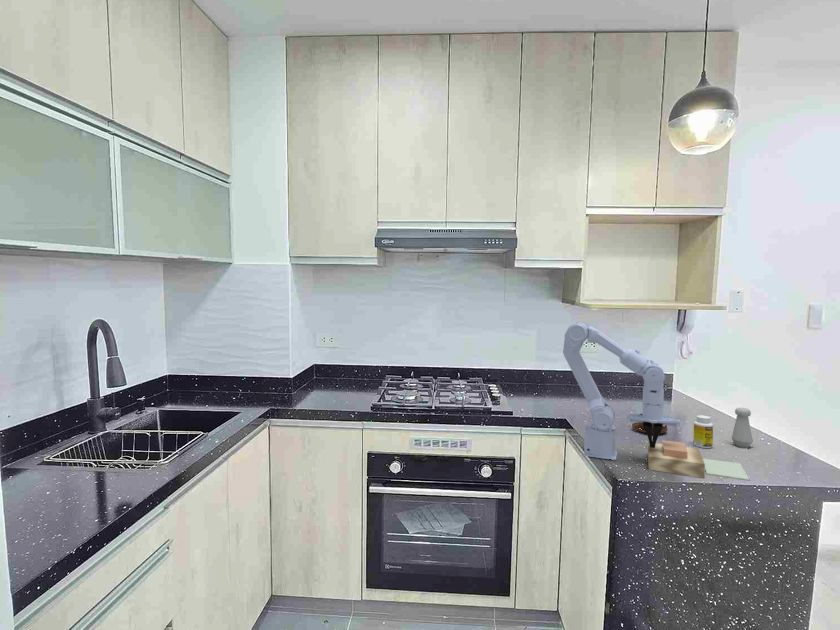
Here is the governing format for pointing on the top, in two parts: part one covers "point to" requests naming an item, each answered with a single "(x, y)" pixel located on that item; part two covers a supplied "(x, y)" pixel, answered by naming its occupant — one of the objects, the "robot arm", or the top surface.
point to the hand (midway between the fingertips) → (652, 446)
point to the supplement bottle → (703, 432)
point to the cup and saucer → (640, 425)
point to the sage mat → (725, 469)
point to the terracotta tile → (674, 449)
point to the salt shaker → (742, 428)
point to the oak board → (676, 462)
